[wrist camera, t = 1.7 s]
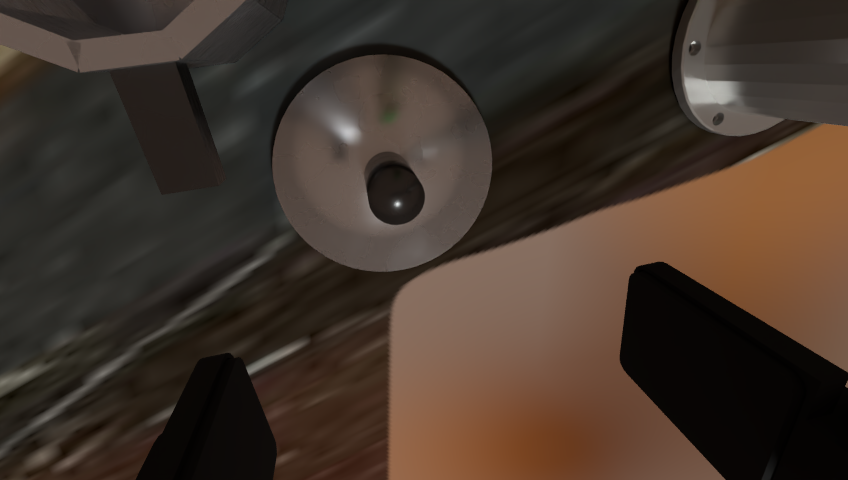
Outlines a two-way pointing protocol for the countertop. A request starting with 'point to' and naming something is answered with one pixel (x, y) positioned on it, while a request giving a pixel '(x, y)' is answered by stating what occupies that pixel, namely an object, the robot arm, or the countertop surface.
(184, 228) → the countertop surface
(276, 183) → the lid
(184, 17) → the pot
